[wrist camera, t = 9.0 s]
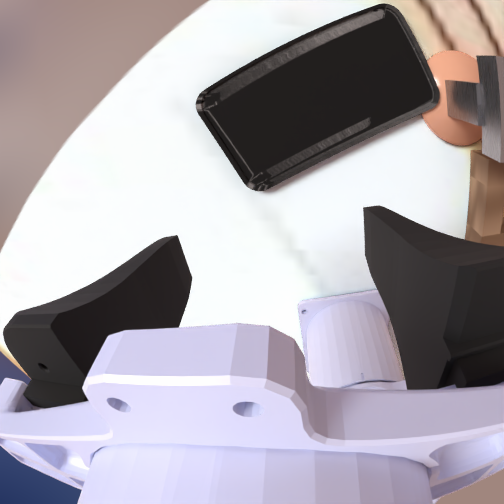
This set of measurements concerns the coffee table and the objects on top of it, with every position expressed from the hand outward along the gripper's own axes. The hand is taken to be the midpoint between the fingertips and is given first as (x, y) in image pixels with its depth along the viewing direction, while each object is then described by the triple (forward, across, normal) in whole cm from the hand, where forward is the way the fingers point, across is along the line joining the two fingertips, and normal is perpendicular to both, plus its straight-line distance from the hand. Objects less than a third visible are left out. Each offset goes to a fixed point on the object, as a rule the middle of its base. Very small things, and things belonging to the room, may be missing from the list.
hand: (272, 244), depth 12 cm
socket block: (+10, -19, +4) cm, 22 cm away
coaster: (+10, -14, -4) cm, 18 cm away
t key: (+10, -14, -4) cm, 18 cm away
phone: (+11, -4, -5) cm, 13 cm away
